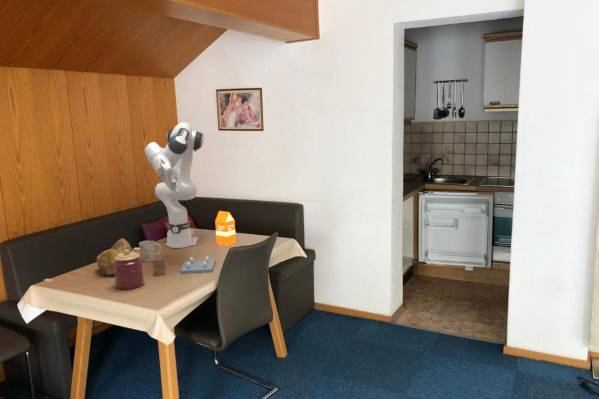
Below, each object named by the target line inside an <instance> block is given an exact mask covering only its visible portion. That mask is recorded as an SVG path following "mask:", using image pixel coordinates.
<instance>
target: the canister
mask: <svg viewBox="0 0 599 399" xmlns="http://www.w3.org/2000/svg"><path fill="white" fill-rule="evenodd" d="M142 262H143V259H142V257H140V254H139V253H138V252H136V251H133V252H130V251H129V250H128V249H126V250H124V253H120V254H118V255H117V256H116V257H115V261H114V262H113V264H114V265H115V269H114V272H115V275H114V280H115V282H114V283H115V286H116V288H117V289H119V290H132V289H136V288H139V287H141V286H143V285H144V284H145V278H144V271H143V265H142Z"/></svg>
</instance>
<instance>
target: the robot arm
mask: <svg viewBox="0 0 599 399" xmlns="http://www.w3.org/2000/svg"><path fill="white" fill-rule="evenodd" d="M166 141H167V144H166V146H165V147H164V148H163V147H162V146H160V145H159V144H158V143H157V141H156V142H155V141H152V142H149V143H148V144H147V145H146V147H145V148H144V154H145V156H146V159H147V160H148V162H149V163H150V165H152V168H153V169H154V172H155V173H156V174H157V176H158V177H159V179H160V181H162V182H159V183H157V184H156V185H155V188H154V194H155V196H156V197H157V199H159V201H161V202H162V203H163V205H164V206H165V207H166V211H167V215H168V216H167V217H168V231H167V233H166V234H167V235H166V237H167V238H166V240H167V242H166V243H165V244H164V245H165V246H167V247H169V248H172V249H182V248H187V247H191V246H196V244H197V243H198V240H199V237H196V236H195V231H194V230H193V229H192V228H191V227H190V224H191V220H188V219H189V217H188V210H187V208H186V207H185V205H182V204H181V203H180V202H179V201H189V200H192V199H195V197H196V196H197V194H198V189H197V186H196V185H195V183H194V182H193V181H192V180H191V177H190V176H191V175H190V174H191V170H192V164H193V159H194V157H193V156H194V153H195V152H197V151H198V150H200V149H201V148H202V146H203V145H204V141H205V139H204V135H203V133H202V132H201V131H198V130H197V131H195V130H193V127H192V126H191V125H190V123H188V122H185V121H182V122H179V123H177V125H175V127H172V128H170V129H169V130H168V131H167V135H166Z"/></svg>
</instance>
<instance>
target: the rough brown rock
mask: <svg viewBox="0 0 599 399" xmlns="http://www.w3.org/2000/svg"><path fill="white" fill-rule="evenodd" d="M126 249H128V250H129V251H130V252H134V251H133V249H132V246H131V245H130V243H129V241H127V240H126V239H125V238H123V237H122V238H120V239H119V240H118V241H115V242H114V244H113V245H112V246H111V247H110V248H109V249H106V250H104V251H102V252H101V253H99V254H98V255H97V256H96V264H97V267H98V270H100V273H101V274H102V275H103V276H115V272H114V269H115V265H114V264H113V262H114V261H115V257H116V256H117V255H118V254H120V253H124V250H126Z"/></svg>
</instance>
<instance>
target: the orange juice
mask: <svg viewBox="0 0 599 399" xmlns="http://www.w3.org/2000/svg"><path fill="white" fill-rule="evenodd" d="M214 223H215V236H216V245H217V244H218V245H219V246H223V245H224V246H225V247H230V246H232V245H235V244H237V241H236V239H237V238H236V224H235V223H236V221H235V219H234V218H233V216H232V214H231V213H230V212H229V211H223V210H218V213H217V216H216V218H215V222H214ZM229 245H230V246H229ZM224 246H223V247H224Z"/></svg>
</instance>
